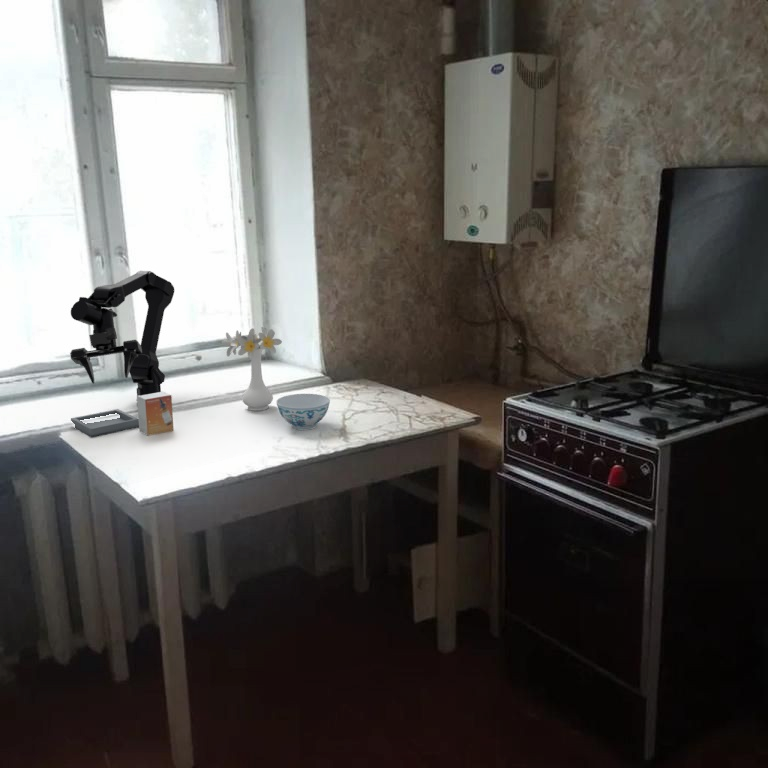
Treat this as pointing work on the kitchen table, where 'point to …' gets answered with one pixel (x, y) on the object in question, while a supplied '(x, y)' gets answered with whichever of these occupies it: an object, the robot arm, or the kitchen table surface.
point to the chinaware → (303, 409)
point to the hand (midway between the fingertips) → (109, 380)
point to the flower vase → (254, 364)
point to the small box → (155, 413)
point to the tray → (106, 423)
